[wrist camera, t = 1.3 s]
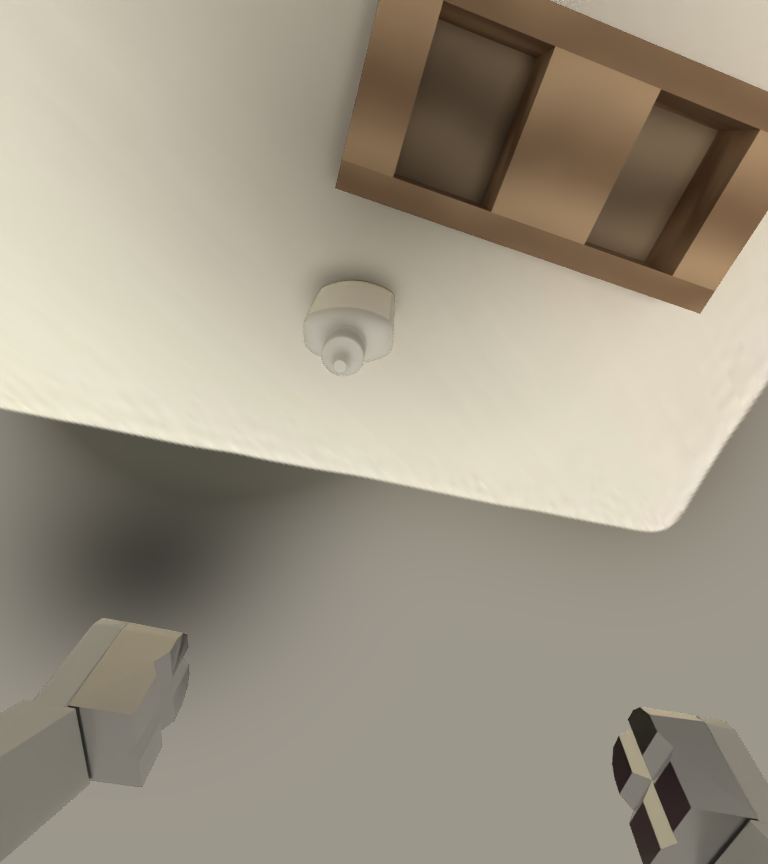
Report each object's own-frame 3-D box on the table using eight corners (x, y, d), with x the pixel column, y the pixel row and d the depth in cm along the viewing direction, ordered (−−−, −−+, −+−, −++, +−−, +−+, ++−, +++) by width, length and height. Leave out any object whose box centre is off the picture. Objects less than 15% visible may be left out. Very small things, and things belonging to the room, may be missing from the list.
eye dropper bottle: (339, 256, 35) (313, 303, 24) (404, 299, 36) (406, 361, 26) (309, 306, 37) (274, 371, 26) (373, 346, 38) (363, 421, 28)
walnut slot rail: (395, -32, 27) (394, -65, 23) (767, 121, 30) (828, 117, 26) (343, 181, 32) (335, 188, 28) (663, 292, 35) (699, 313, 31)
